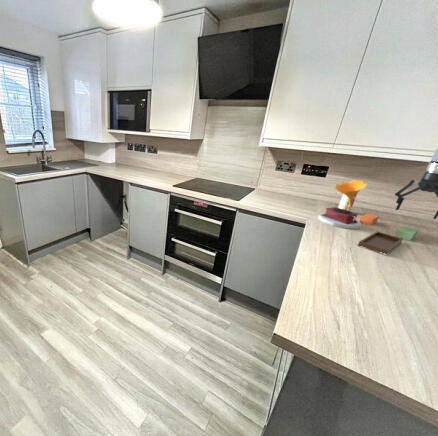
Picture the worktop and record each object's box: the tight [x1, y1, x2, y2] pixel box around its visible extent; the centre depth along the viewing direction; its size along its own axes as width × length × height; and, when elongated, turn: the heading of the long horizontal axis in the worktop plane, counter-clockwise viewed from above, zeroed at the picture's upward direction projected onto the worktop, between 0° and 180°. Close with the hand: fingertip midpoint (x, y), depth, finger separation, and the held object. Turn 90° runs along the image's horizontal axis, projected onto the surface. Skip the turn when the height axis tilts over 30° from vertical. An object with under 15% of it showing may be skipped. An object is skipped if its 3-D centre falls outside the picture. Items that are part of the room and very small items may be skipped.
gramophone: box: [317, 179, 368, 230], centre depth 135 cm, size 20×20×25 cm
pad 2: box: [395, 226, 419, 242], centre depth 124 cm, size 10×6×4 cm, turn 123°
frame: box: [357, 231, 404, 255], centre depth 114 cm, size 10×25×2 cm, turn 123°
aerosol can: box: [337, 193, 358, 212], centre depth 156 cm, size 7×7×20 cm
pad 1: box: [358, 213, 380, 226], centre depth 142 cm, size 10×6×4 cm, turn 123°
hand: (414, 213), depth 120 cm, fingers open, 13 cm apart
